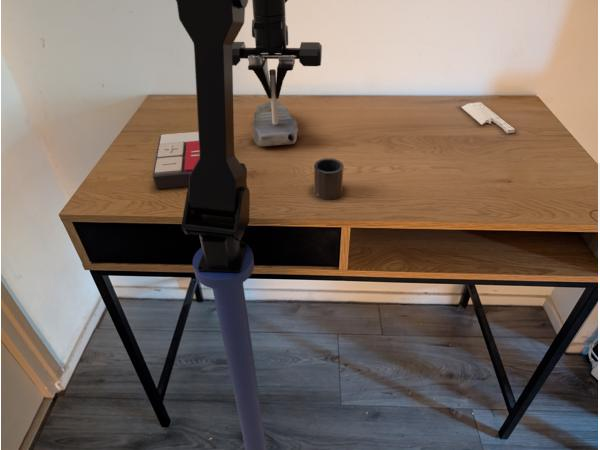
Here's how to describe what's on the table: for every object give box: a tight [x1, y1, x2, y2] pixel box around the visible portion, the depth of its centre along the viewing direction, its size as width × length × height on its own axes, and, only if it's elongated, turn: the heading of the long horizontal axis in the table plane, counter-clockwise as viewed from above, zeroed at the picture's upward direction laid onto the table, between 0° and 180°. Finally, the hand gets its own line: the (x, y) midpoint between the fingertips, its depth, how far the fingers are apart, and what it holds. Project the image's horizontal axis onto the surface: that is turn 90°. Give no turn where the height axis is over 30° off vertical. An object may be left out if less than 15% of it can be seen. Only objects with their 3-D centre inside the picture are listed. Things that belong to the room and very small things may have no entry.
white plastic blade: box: [461, 101, 516, 134], centre depth 100 cm, size 5×15×1 cm, turn 10°
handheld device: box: [252, 101, 299, 147], centre depth 97 cm, size 10×20×5 cm, turn 8°
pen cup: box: [313, 157, 345, 201], centre depth 77 cm, size 5×5×6 cm
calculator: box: [152, 131, 200, 190], centre depth 85 cm, size 11×4×15 cm
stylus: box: [268, 68, 278, 125], centre depth 86 cm, size 1×1×11 cm
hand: (273, 98), depth 86 cm, fingers closed on stylus, 1 cm apart
